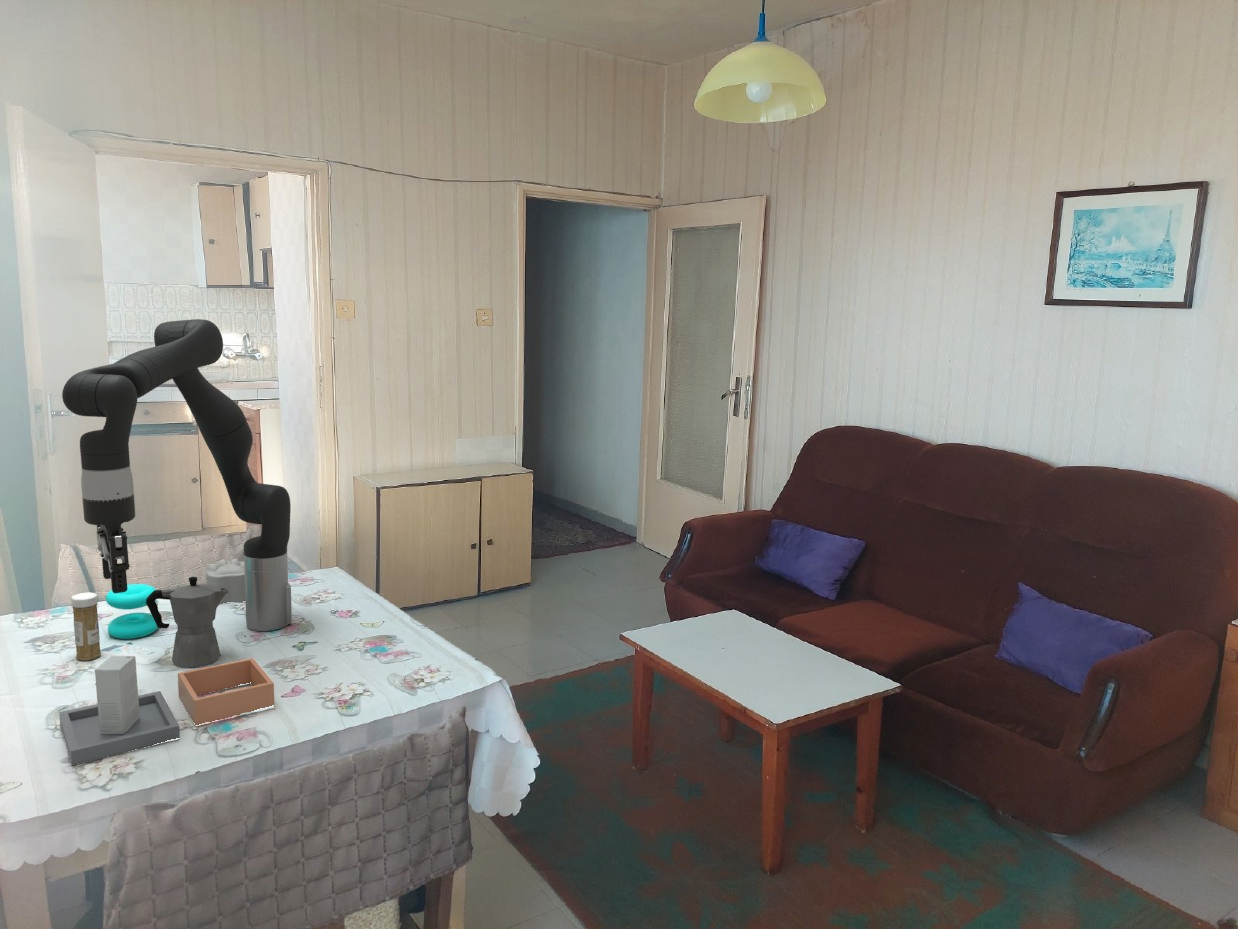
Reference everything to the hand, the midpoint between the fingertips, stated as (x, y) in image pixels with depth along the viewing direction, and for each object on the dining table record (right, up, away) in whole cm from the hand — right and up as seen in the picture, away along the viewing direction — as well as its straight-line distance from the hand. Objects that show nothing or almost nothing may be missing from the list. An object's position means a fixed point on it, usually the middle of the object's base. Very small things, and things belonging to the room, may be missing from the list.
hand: (115, 584), depth 151 cm
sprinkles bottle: (-24, -20, +32) cm, 44 cm away
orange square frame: (+12, -24, +15) cm, 31 cm away
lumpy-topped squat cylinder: (-12, -13, +72) cm, 74 cm away
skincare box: (-1, -25, +2) cm, 25 cm away
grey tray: (-1, -26, +2) cm, 26 cm away
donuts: (-22, -17, +46) cm, 53 cm away
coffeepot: (-3, -20, +33) cm, 39 cm away
